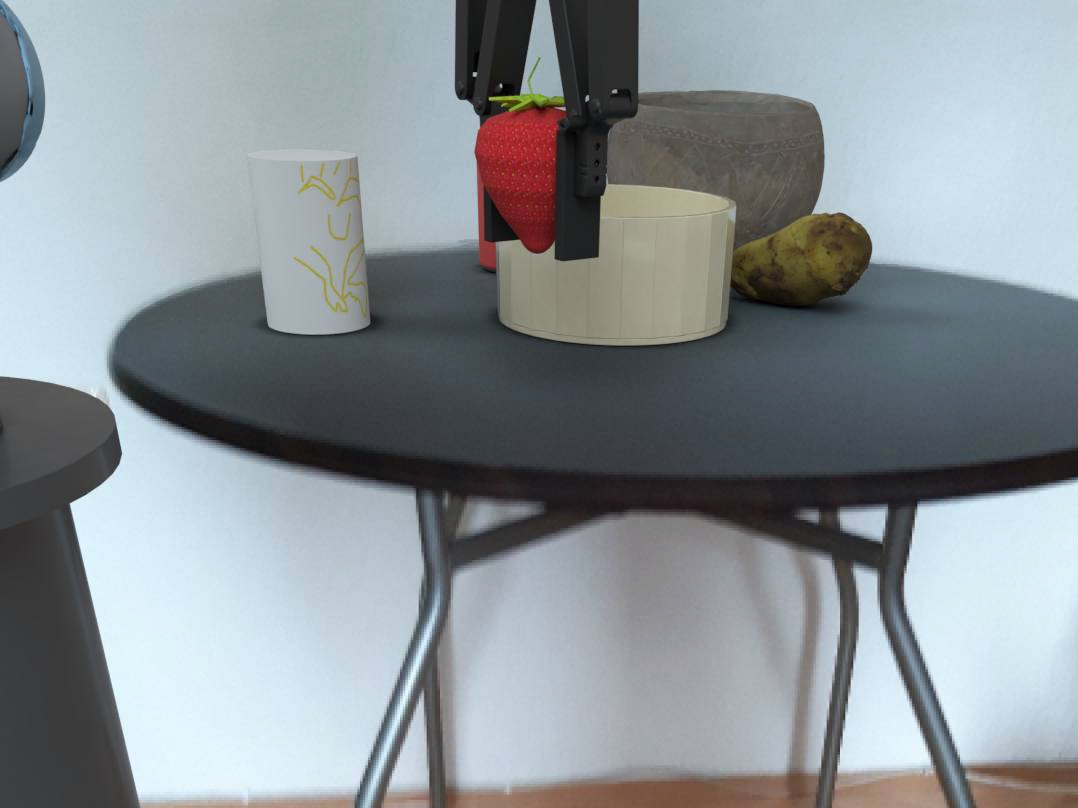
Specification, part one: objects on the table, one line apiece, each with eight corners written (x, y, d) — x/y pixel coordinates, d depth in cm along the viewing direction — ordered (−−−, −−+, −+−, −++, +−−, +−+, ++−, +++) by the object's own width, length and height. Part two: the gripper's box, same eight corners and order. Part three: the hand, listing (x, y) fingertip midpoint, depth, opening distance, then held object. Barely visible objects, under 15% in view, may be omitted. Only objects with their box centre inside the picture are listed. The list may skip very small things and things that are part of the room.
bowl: (755, 298, 108) (772, 108, 100) (564, 270, 117) (565, 93, 109) (843, 265, 123) (864, 97, 115) (668, 242, 132) (676, 85, 124)
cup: (322, 339, 92) (304, 163, 85) (246, 324, 95) (223, 154, 88) (391, 320, 97) (379, 155, 91) (316, 307, 101) (300, 146, 94)
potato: (785, 290, 112) (795, 195, 107) (878, 318, 103) (893, 216, 98) (713, 298, 108) (720, 200, 103) (803, 328, 99) (815, 222, 94)
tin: (599, 357, 89) (602, 225, 84) (453, 311, 101) (448, 193, 96) (774, 325, 100) (786, 206, 95) (623, 286, 112) (626, 178, 107)
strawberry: (614, 262, 70) (622, 61, 64) (488, 264, 68) (485, 57, 62) (585, 245, 74) (590, 56, 69) (466, 246, 72) (462, 52, 67)
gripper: (739, -277, 54) (697, 270, 67) (491, -238, 66) (496, 221, 79) (615, -305, 50) (595, 283, 63) (374, -258, 62) (399, 229, 75)
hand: (540, 248), depth 71 cm, fingers closed on strawberry, 6 cm apart
